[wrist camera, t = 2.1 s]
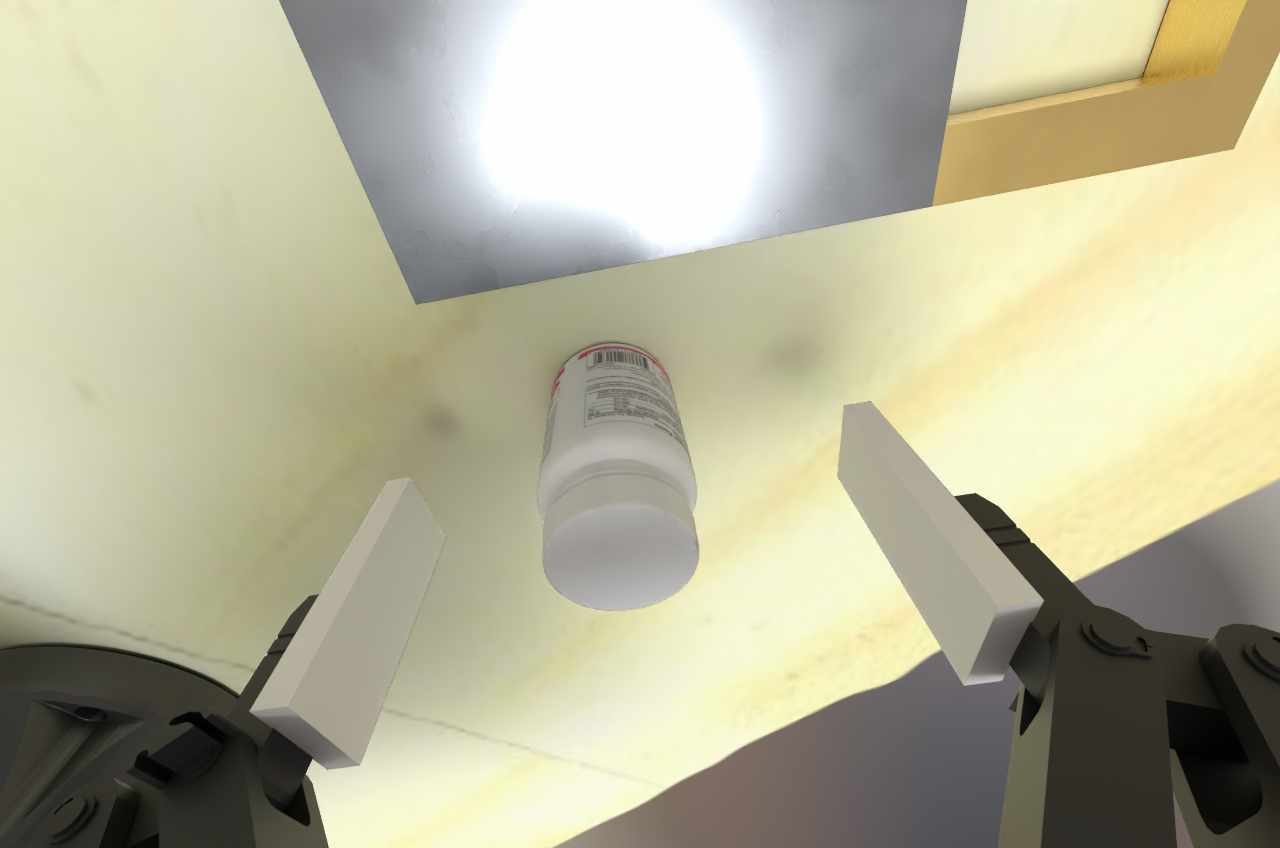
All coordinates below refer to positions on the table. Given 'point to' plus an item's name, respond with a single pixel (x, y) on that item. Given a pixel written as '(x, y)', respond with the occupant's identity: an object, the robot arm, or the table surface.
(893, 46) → the flat tray
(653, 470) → the pill bottle
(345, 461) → the table surface
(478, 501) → the table surface
